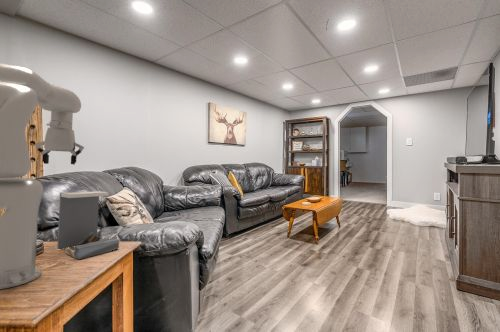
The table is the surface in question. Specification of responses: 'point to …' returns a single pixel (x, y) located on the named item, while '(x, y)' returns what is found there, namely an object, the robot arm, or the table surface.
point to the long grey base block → (93, 248)
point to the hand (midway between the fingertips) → (59, 164)
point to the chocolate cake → (89, 239)
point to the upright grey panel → (77, 217)
